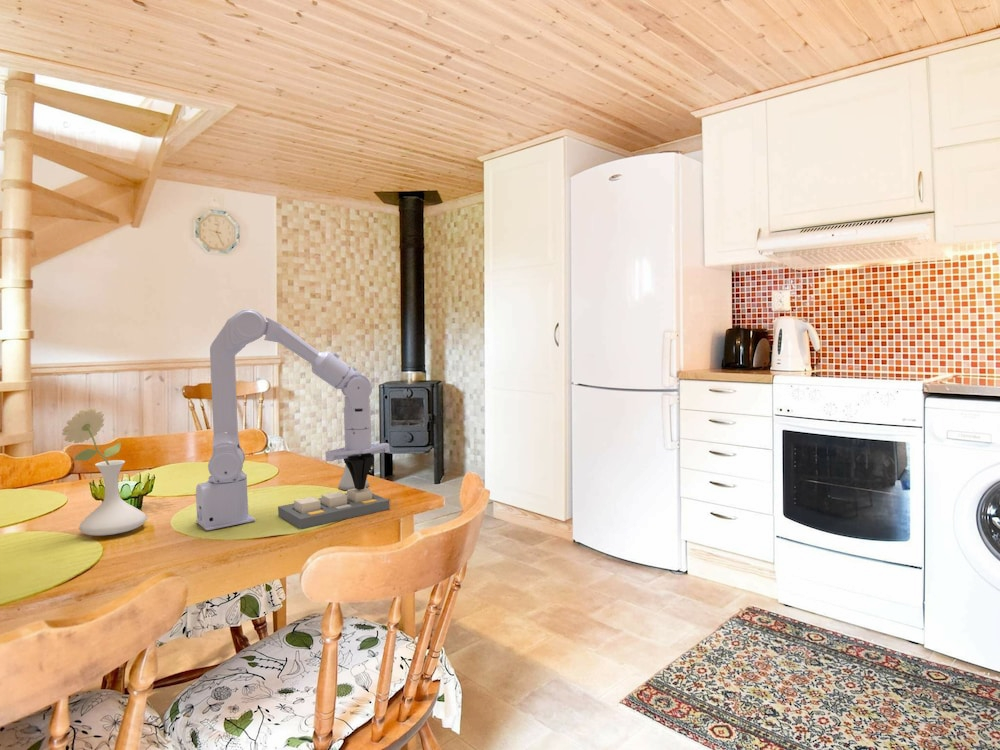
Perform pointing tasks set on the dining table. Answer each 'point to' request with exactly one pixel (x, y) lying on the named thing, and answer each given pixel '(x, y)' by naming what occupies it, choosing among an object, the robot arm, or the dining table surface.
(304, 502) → the button near
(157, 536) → the dining table surface
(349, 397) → the robot arm
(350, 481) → the flask
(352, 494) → the button far
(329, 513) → the button board
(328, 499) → the button middle
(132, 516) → the flower in vase
